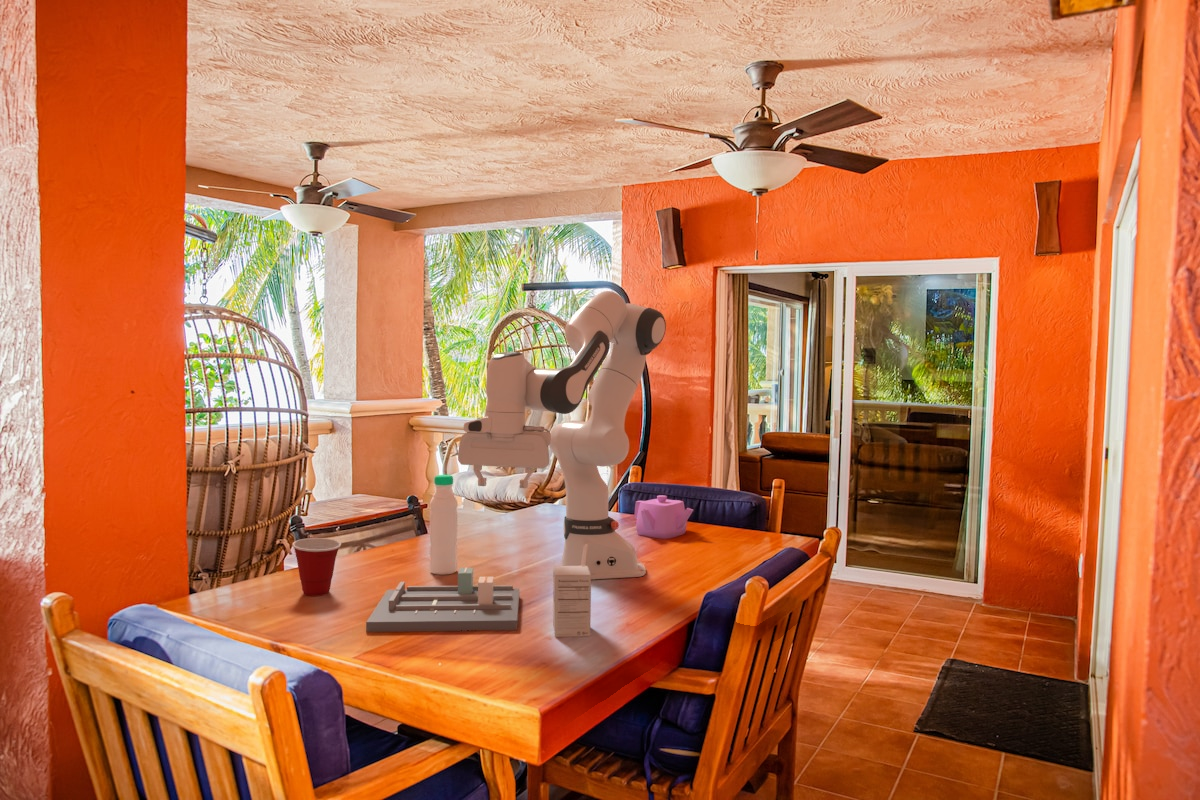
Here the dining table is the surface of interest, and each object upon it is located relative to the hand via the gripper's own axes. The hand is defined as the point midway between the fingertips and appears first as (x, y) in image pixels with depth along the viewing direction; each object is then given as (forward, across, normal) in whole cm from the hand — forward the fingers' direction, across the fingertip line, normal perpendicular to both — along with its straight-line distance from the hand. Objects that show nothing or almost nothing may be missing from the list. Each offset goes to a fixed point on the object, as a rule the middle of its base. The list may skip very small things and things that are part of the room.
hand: (502, 486), depth 186 cm
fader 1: (+24, +8, -1) cm, 26 cm away
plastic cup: (+28, +44, -3) cm, 52 cm away
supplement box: (+27, -19, +15) cm, 36 cm away
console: (+27, +9, +8) cm, 29 cm away
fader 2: (+24, +1, +6) cm, 25 cm away
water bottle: (+27, +21, -27) cm, 43 cm away
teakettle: (+24, -32, -86) cm, 95 cm away
